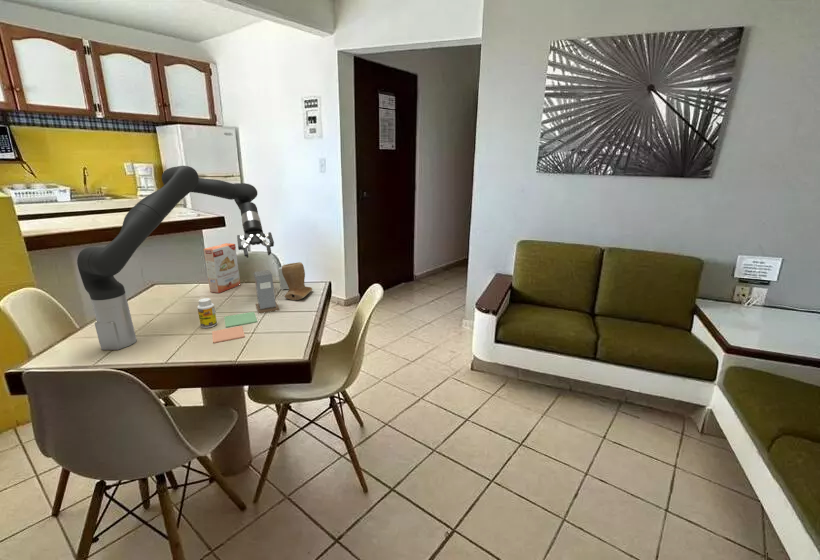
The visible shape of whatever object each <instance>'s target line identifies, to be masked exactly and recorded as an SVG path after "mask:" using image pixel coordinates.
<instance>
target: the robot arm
mask: <svg viewBox="0 0 820 560" xmlns="http://www.w3.org/2000/svg"><path fill="white" fill-rule="evenodd" d="M161 180H162V181H161V182H162V183H163V186H162V187H160V188H159V189H157V190H155V191H154V192H151V194H148V195H146V196H145V197H143V198H142V199H140V200H139V201H138V202H137V203H136V204H135V205H134V206H132V208H131V209H130V210H129V211H128V212H127V213H126V215H125V216H124V218H123V222H122V225H121V229H120V231H119V233H118V234H117V235H116V237H114V238H113V240H112V241H110V242H109V243H107V245H105V246H104V247H103V246H88V247H85V248H83V249H82V250H81V251H79V253H78V255H77V259H76V262H77V263H76V264H77V269H78V273H79V275H80V278H81V281H82V284H83V288H84V290H86V292H87V294H88V295H89V298H90V300H91V305H92V308H93V313H94V317H95V320H96V321H95V322H94V328H95V331H96V334H97V339H98V342H99V346H100V350H101V351H102V350H105V351H107V350H111V351H114V350H117V351H119V350H121V349H123V348H127V347H129V346H132V345H134V344H135V343H136V342H137V336H136V332H135V328H134V323H133V319H132V314H131V310H130V306H129V302H128V299H127V294H126V289H125V287H124V285H123V284H122V283H121V282H119V281H118V280H117V279H116V278H115V276H116V275H117V274H119V273H120V272H121V271H122V270H123V269H124V267H125V266H126V264H127V263H128V262H129V261H130V259H131V258H132V256H133V255H134V253H135V252H136V250H138V248H139V247H140V246H141V245H142V243H144V242H145V240H146V239H147V238H148V237H149V236H150V235H151V234H152V233H153V232H154V231H155V230H156V229H157V228H158V226H159V225H160V224H161V223H163V221H164V220H165V218H166V217H167V216H168V215H169V214H170V213H171V212H172V211H173V210H174V209H175V207H177V205H178V204H179V203H180V202H181V201H182V200H183V199H184V198H186V196H188V195H189V194H190V193H193V194H194V193H195V194H202V195H207V196H211V197H216V198H220V199H226V200H231V201H233V200H234V202H235V204H236V206H237V207H238V209H239V211H240V215H241V225H242V229H243V235H242V236H241V235H240V234H237V235H236V239H237V241H236V242H237V248H238V250H239V251H243V254H244V255H243V256H244V257H246V258H249V252H248V248H249V247H251V245H252V246H255V245H262V246H264V247H265V248H266V252H267V256H271V254H272V248H271V247H274V246H275V242H274V238H273V235H272V232H271V231H270V232H268V233H264V231H263V226H262V222H261V218H260V215H259V212H258V207H257V205H256V204H255V203H254V202H252V201H253V200H254V199H256V198H257V196H258V190H257V189H256V187H255V186H254V185H252V184H250V183H247V182H246V183H244V182H235V183H231V182H228V181H225V180H221V179H212V178H210V179H209V178H204V177H202V178H201V177H199V173H198V172H197V170H196V169H195V168H194V167H191V166H189V165H179V166H177V165H176V166H173V167H169V168H167V169H165V170H164V171H163V172H162V175H161ZM268 240H269V241H268ZM243 241H245V242H244V243H243V245H242V242H243Z"/></svg>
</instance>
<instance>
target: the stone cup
mask: <svg viewBox="0 0 820 560" xmlns="http://www.w3.org/2000/svg"><path fill="white" fill-rule="evenodd" d="M281 266H282V274H283V277H284V278H285V280H286V283H287V285H288V287H289V290H287V292H286V293H285V294H284V295H283V296H284V297H285V298H286V299H289V300H290V301H298V300H299V301H300V300H302V299H303V298H305V297H306V296H307V295H308V294H310V292H312V291H313V287H311V286H306V285H305V278H306V271H305V267H304V264H303V263H302V262H300V261H299V262H292V263H287V264H283V265H281ZM285 298H284V299H285Z"/></svg>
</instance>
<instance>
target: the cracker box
mask: <svg viewBox="0 0 820 560" xmlns="http://www.w3.org/2000/svg"><path fill="white" fill-rule="evenodd" d="M236 247H237V246H236V244H235V243H230V242H227V243H222V244H218V245H214V246H210V247H205V248H203V255H204V259H205V260H204V261H205V267H206V274H207V280H208V286H209V287H208V288H209V291H210V293H215V294H221V293H223V292H225V291H228V290H230V289H233V288H235V286H236V287H238V285H239V284H240V285H241V279H240V271H239V265H238V264H239V263H238V255H237V248H236ZM240 285H239V286H240Z"/></svg>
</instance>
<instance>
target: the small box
mask: <svg viewBox="0 0 820 560" xmlns="http://www.w3.org/2000/svg"><path fill="white" fill-rule="evenodd" d="M282 266H283V265H281V266H280V267H279V268H277V271H278V279H279V287H280V290H281V289H282V290H281V291H284V290H283V289H289V287H288V285H287V283H286V280H285V278H284V277H283V274H282Z"/></svg>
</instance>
